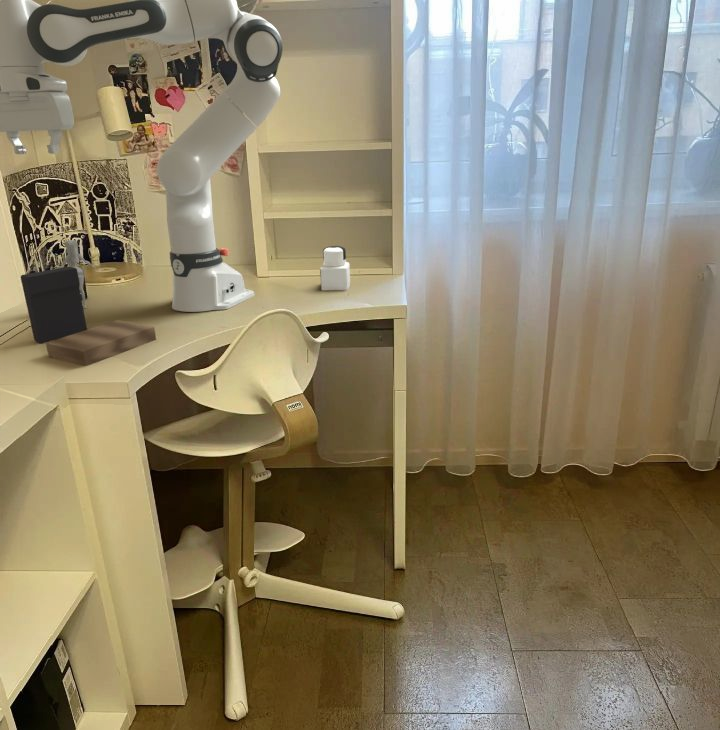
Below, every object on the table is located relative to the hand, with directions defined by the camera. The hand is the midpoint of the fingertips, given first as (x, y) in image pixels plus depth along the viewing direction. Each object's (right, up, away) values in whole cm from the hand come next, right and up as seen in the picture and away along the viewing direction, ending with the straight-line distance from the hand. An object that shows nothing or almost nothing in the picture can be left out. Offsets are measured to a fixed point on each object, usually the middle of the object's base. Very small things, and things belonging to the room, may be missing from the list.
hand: (37, 153), depth 141 cm
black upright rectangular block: (+1, -39, +8) cm, 40 cm away
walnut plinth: (+14, -41, -1) cm, 44 cm away
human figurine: (-3, -31, +29) cm, 43 cm away
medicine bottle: (+62, -25, +39) cm, 78 cm away
